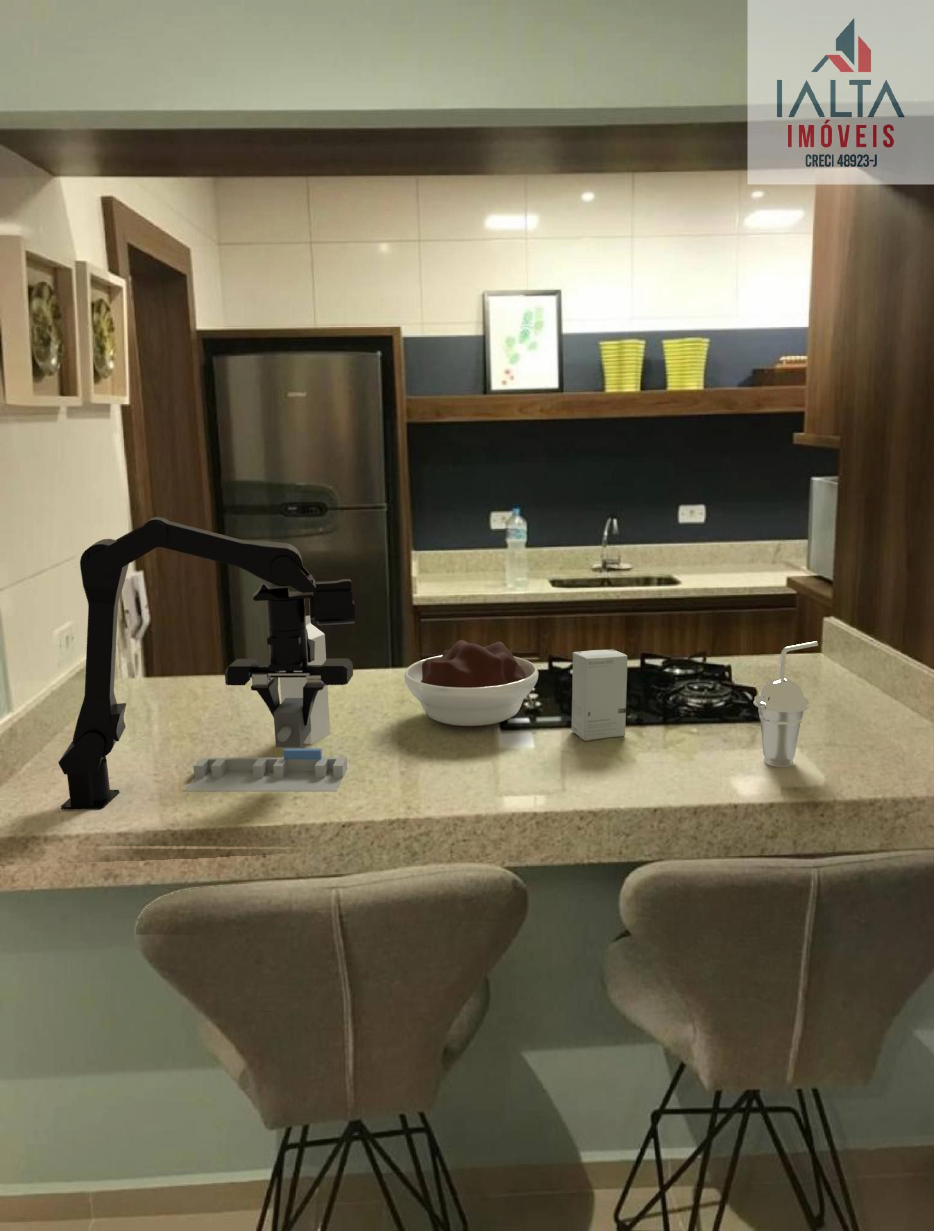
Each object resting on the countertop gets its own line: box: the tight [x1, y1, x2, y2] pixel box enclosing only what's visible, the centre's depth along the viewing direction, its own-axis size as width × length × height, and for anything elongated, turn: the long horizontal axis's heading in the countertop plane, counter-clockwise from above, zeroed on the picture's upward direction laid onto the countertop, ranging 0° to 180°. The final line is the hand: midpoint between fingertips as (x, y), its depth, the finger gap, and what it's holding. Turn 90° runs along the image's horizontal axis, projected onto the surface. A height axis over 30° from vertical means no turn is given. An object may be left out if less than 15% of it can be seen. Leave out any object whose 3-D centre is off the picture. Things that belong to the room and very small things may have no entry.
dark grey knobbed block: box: [273, 698, 311, 748], centre depth 145 cm, size 10×4×6 cm, turn 177°
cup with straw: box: [753, 640, 819, 768], centre depth 151 cm, size 8×9×20 cm
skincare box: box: [571, 649, 628, 742], centre depth 166 cm, size 8×6×15 cm
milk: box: [278, 615, 331, 745], centre depth 167 cm, size 6×6×22 cm
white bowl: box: [403, 639, 539, 727], centre depth 176 cm, size 25×25×15 cm
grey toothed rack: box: [182, 747, 348, 792], centre depth 149 cm, size 9×24×4 cm, turn 87°
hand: (293, 724), depth 147 cm, fingers closed on dark grey knobbed block, 4 cm apart
